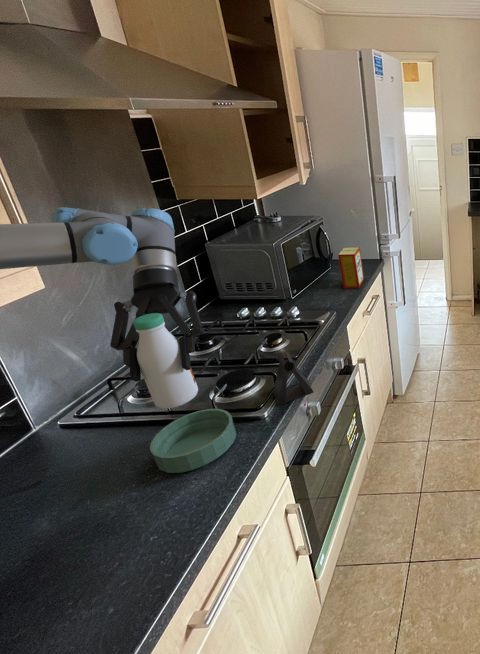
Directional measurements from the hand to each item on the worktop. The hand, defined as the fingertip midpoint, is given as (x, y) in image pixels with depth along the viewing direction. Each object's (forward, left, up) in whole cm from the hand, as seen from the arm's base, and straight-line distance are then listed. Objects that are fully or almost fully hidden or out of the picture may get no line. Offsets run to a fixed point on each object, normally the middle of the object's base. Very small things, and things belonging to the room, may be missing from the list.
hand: (161, 373), depth 85 cm
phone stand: (+18, +19, -24) cm, 35 cm away
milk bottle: (-1, +3, -9) cm, 9 cm away
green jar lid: (0, +4, -23) cm, 24 cm away
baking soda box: (+31, +93, -24) cm, 101 cm away
